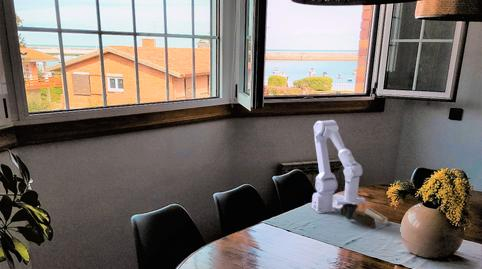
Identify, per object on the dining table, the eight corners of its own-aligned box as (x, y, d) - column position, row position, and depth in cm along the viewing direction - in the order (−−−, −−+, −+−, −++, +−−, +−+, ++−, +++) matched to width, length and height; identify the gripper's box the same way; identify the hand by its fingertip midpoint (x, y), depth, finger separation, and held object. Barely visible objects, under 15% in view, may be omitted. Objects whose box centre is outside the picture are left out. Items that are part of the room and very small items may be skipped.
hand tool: (339, 213, 172) (340, 204, 171) (345, 212, 174) (346, 203, 173) (370, 230, 155) (371, 220, 155) (376, 228, 157) (377, 219, 156)
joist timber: (381, 224, 162) (382, 218, 161) (365, 213, 173) (365, 208, 172) (387, 223, 162) (387, 218, 162) (370, 212, 174) (370, 207, 173)
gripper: (342, 194, 154) (339, 224, 157) (370, 192, 159) (367, 220, 161) (333, 189, 161) (331, 217, 164) (361, 186, 165) (358, 214, 168)
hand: (348, 218), depth 163 cm, fingers closed
